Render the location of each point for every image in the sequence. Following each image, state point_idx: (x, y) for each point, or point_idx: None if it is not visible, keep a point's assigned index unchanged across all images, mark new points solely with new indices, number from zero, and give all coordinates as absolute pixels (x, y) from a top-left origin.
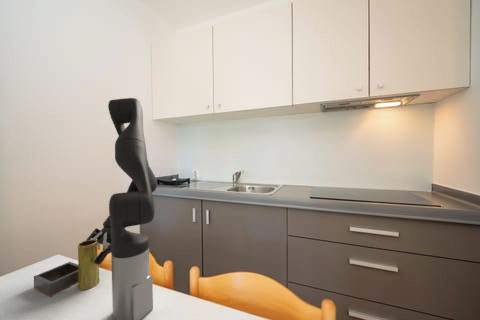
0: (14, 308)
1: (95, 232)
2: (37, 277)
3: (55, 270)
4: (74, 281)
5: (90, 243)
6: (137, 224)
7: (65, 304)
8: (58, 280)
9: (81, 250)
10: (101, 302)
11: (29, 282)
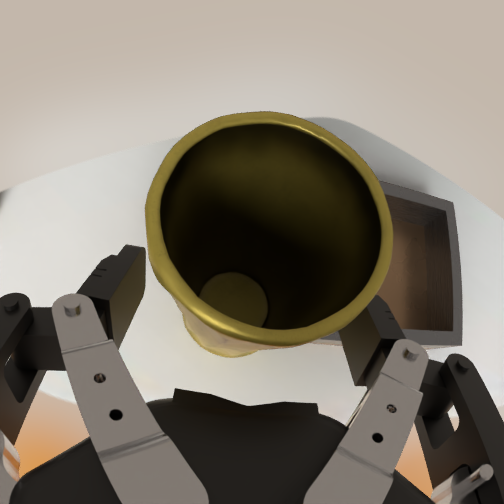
0: (350, 137)
1: (484, 476)
2: (433, 199)
3: (446, 275)
4: None
5: (330, 313)
6: None
7: None
8: None
9: (245, 149)
10: (63, 224)
11: (471, 245)
